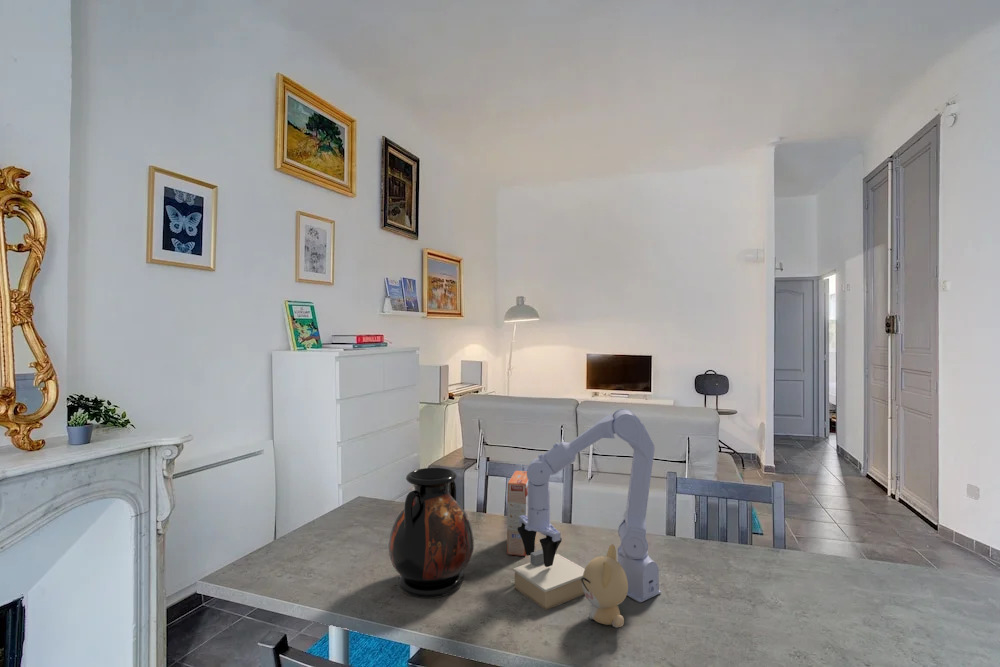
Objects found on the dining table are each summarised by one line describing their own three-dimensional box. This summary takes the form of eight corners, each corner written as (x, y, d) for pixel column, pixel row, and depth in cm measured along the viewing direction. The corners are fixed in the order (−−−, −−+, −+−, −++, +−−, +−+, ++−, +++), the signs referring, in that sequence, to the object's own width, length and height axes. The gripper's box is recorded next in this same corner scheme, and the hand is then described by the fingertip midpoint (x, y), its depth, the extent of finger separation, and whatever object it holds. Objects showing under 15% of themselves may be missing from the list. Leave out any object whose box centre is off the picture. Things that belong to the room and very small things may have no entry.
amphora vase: (426, 557, 138) (425, 459, 139) (489, 576, 127) (489, 469, 127) (369, 591, 120) (369, 477, 120) (439, 616, 109) (438, 491, 109)
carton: (589, 592, 119) (589, 575, 119) (545, 610, 111) (545, 592, 111) (557, 572, 129) (557, 557, 129) (514, 588, 121) (514, 572, 121)
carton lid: (591, 574, 119) (591, 561, 119) (545, 592, 111) (545, 578, 111) (557, 555, 129) (557, 543, 129) (513, 570, 121) (513, 557, 121)
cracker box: (527, 557, 138) (526, 483, 138) (506, 555, 139) (506, 482, 140) (533, 537, 152) (533, 470, 152) (514, 536, 153) (514, 469, 153)
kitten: (589, 597, 116) (588, 535, 117) (632, 606, 113) (631, 541, 113) (575, 633, 102) (575, 561, 103) (623, 643, 99) (623, 570, 99)
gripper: (509, 501, 128) (509, 553, 128) (544, 518, 116) (545, 575, 116) (530, 496, 132) (530, 546, 132) (566, 512, 120) (567, 567, 120)
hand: (539, 559), depth 124 cm, fingers open, 7 cm apart
